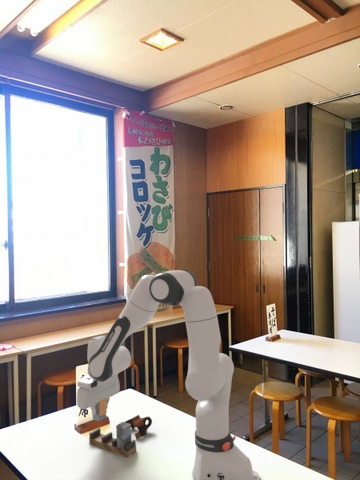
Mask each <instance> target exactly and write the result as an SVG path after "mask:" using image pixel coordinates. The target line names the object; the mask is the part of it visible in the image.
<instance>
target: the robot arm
mask: <svg viewBox="0 0 360 480" xmlns="http://www.w3.org/2000/svg"><path fill="white" fill-rule="evenodd" d="M160 304H164V305H169V306H174V307H176V306H178V305H180V307H181V308H182V309H183V313H184V320H185V327H186V332H187V339H188V366H187V367H188V368H187V376H186V378H185V383H184V384H185V389H186V392H187V393H188V395H189V396H190V397H191V398H193V399H194V400H196V401H197V403H196V406H195V432H194V443H195V459H194V465H193V469H192V477H193V478H194V480H261V479H260V478H261V477H260V474H259V472H257V471H255V470H253V465H252V462H251V459H250V458H249V456H247V455H246V454H245V453H244V452H243V451H242V450H241V449H240V448H239V447H238V446H237V445H236V444H235V442H234V441H236V439H237V438H236V437H237V435H236V434H234V436H233V437H232V434H231V432H230V430H229V429H230V428H229V426H230V425H229V424H230V423H229V420H230V419H229V409H230V408H229V405H230V400H231V399H230V398H231V390H232V382H233V381H232V379H233V376H234V370H235V366H234V362H233V359H232V358H231V357H230V356H228V355H227V354H226V353H223V352H220V348H221V341H222V337H221V331H220V325H219V319H218V313H217V309H216V305H215V301H214V299H213V296H212V294H211V291H210V290H209V289H208V288H207V287H205V286H202V285H198V279H197V277H196V275H195V274H194V272H192V271H190V270H187V269H177V270H176V269H175V270H173V269H172V270H168V271H165V272H160V273H158V274H155V275H152V274H145V275H142V277H141V278H140V279H139V280H138V281H137V283H136V285H135V286H134V288H133V290H132V292H131V293H130V295H129V298H128V300H127V301H126V303H125V305H124V307H123V308H122V311H121V312H120V313H119V316H118V317H117V318H116V320H115V321H114V323H113V324H112V326H111V328H110V330H109V331H108V332H107V335H99V336H94V337H92V338H90V339H89V341H88V344H87V352H86V353H87V362H88V366H87V367H88V368H87V373H86V374H85V375H84V376H83V377H81V378H80V379H79V380H78V381H77V387H78V388H77V393H76V405H77V407H78V408H79V409H81V410H86V409H91V414H92V416H93V415H96V414H98V410H97V409H95V406H96V404H97V403H99V402H100V401H101V400H103V399H105V398H106V406H107V409H108V406H109V402H110V398H111V397H114V396H115V395H117V394H119V392H120V390H121V389H120V387H121V386H120V380H119V374H121V372H124V371H125V370H126V369H128V368H129V367H130V366H131V363H132V354H131V351H130V349H128V348H127V347H126V346H124V345H123V343H124V342H125V341H126V339H128V337H130V336H131V335H132V334H133V333H135V332H137V331H138V330H140V329H141V328H143V327H146V325H148V324H149V322H150V321H151V320H152V319H153V317H154V316H155V314H156V312H157V309H158V307H159V306H160Z"/></svg>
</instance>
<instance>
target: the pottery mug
mask: <svg viewBox="0 0 360 480" xmlns="http://www.w3.org/2000/svg"><path fill="white" fill-rule="evenodd" d="M124 422H125V423H129V424H131V430H134V429H137V430H138V431H137V432H136V433H134V437H135V439H136V440H139V439H141V438H143V437H145V436H146V435H147V431H148V430H149V428H150V427H151V425H152V423H153V419H152V418H151V417H150V416H145V417H140V415H139V414H137V415H136V416H133V417H132V418H129V419H127V420H126V421H124ZM146 422H147V423H146Z"/></svg>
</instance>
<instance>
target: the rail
mask: <svg viewBox="0 0 360 480" xmlns="http://www.w3.org/2000/svg"><path fill="white" fill-rule="evenodd" d="M115 429H116V430H115V431H116V434H115V435H116V437H113V432H112V431H109V432H108V433H106V434H103V433H101V428H100V427H98V428H96V429H94V430H92V431H90V432H89V438H88V440H89V441H88V442H89V444H91V445H93V446H96V447H99V448H102V449H104V450H107V451H110V452H111V453H115V454H117V455H121V456H122V457H126V458H129V457H130V456H132V455H134V453H136V452H137V443H136V440H137V439H136V440H135V439H133V440H132V428H131V424H129V423H125V421H121V422H119V423H118V424H117V425H116V426H115Z"/></svg>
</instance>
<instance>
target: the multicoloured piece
mask: <svg viewBox="0 0 360 480" xmlns="http://www.w3.org/2000/svg"><path fill="white" fill-rule="evenodd" d="M95 409H97V410H98V414H96V415H92V420H93V421H97V422H101V421H102V420H104V419H106V418H107V411H108V410H107V409H108V408H107V406H106V398H105V399H103V400H101V401H100V402H99V403H97V404H96V406H95Z"/></svg>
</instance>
